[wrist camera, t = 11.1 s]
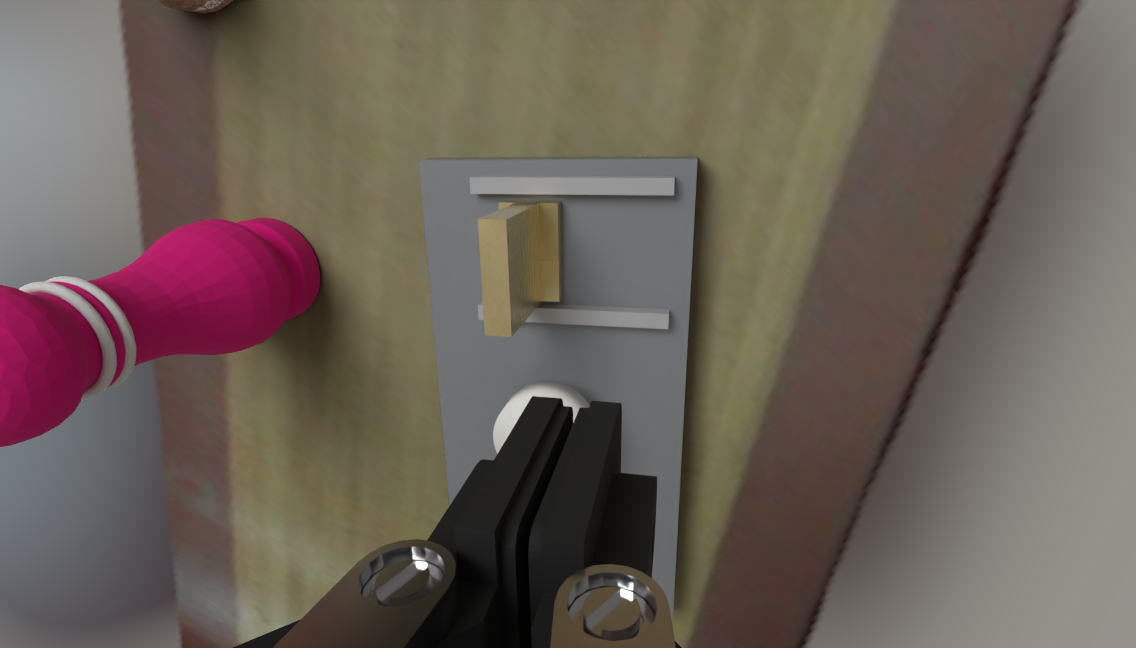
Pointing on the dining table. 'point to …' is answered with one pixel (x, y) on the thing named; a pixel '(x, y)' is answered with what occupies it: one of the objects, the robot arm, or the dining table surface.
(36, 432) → the pepper mill
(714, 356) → the dining table surface
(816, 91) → the dining table surface
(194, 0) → the brown speckled elongated rod
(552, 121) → the dining table surface
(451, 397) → the control panel
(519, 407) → the white knob
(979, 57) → the dining table surface
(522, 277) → the brass paddle
